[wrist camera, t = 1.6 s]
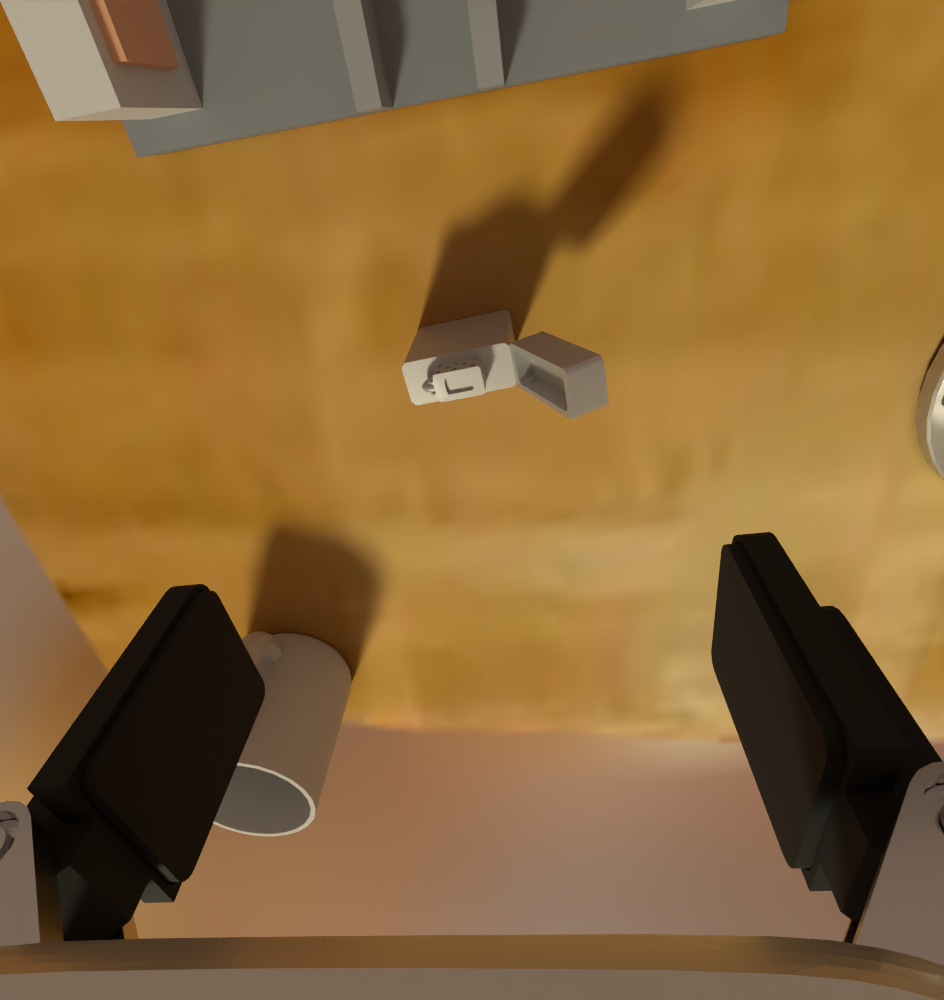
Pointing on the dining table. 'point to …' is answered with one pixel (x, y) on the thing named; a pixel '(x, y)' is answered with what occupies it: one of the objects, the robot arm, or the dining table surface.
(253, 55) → the grey holder rack
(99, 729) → the robot arm
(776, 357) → the dining table surface
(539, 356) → the lighter
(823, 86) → the dining table surface
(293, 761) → the cup
